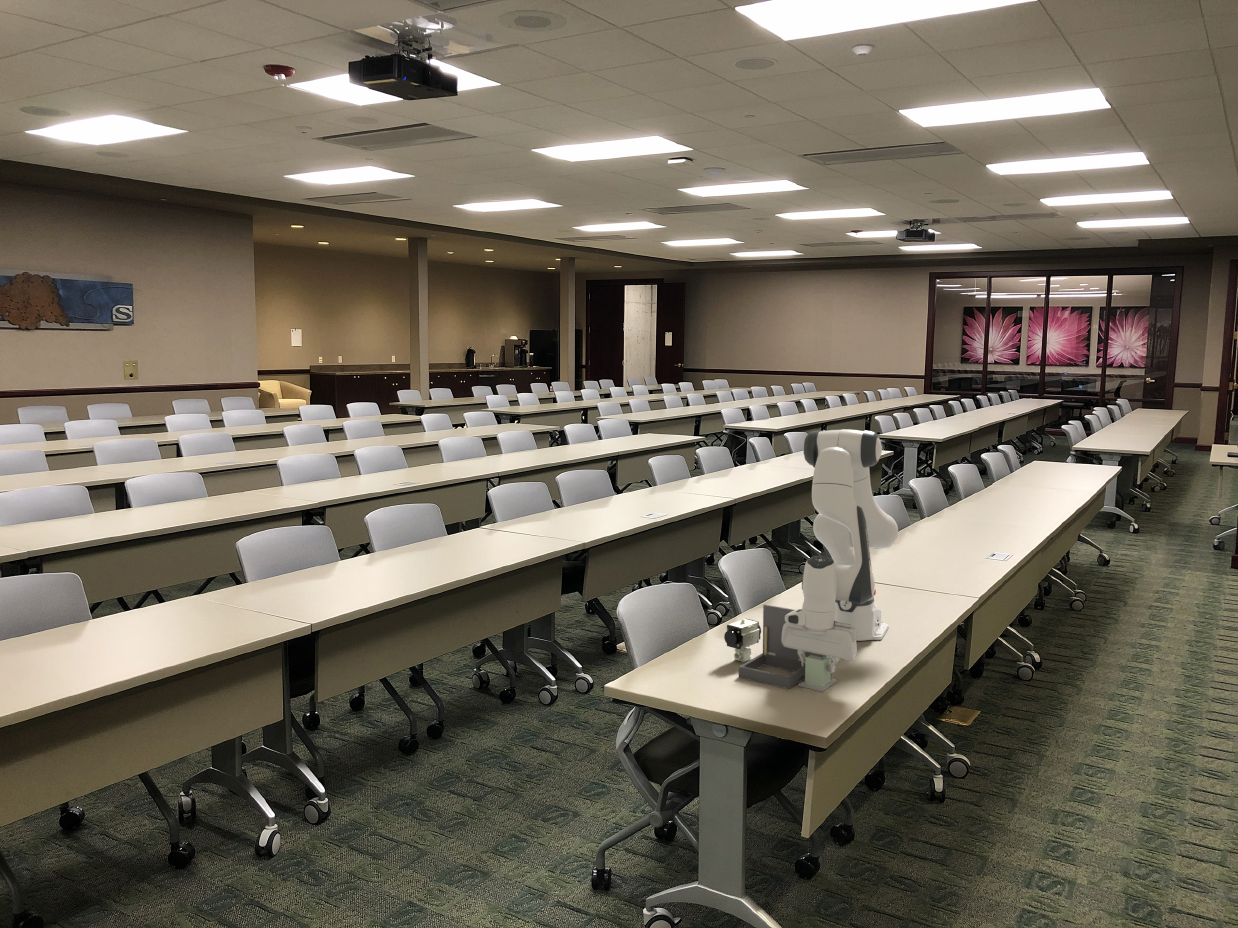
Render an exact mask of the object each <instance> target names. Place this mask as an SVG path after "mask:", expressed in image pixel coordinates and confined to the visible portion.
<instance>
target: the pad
mask: <svg viewBox="0 0 1238 928" xmlns="http://www.w3.org/2000/svg"><path fill="white" fill-rule="evenodd" d="M837 682H838V680H837V679H834V678H831V680H830V682H829V683H828V684H826V685H825V686H824V687H820V686H816V685H811V684H807V683H805V679H803V680H802V681H800V682H799V683H797V684H798V687H801V688H805V689H808V690H813V691H819V692H822V693H823V692H825V691H826V690H827V689H829V688H830V687H832V686H834V684H836V683H837Z"/></svg>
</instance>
